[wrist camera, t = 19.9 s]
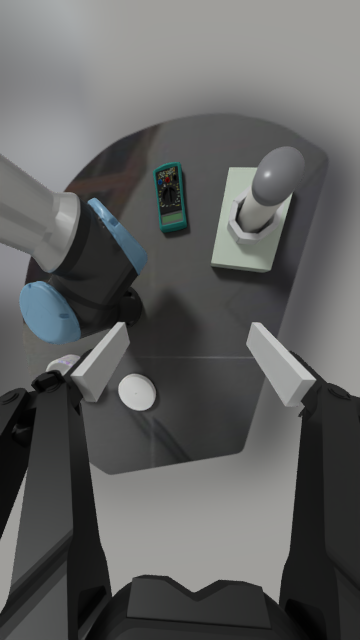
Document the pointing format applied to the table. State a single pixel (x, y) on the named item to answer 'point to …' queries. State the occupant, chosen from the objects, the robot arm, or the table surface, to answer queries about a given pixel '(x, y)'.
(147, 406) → the plastic lid
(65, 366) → the paper bowls
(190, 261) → the table surface
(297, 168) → the white grey-capped cylinder
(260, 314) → the table surface
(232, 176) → the octagonal ring base plate
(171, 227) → the digital multimeter
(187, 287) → the table surface
